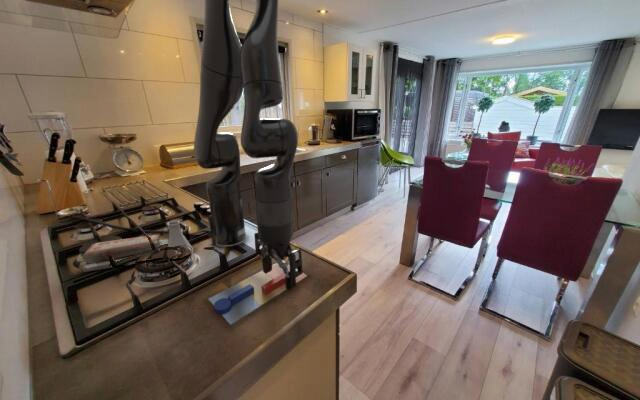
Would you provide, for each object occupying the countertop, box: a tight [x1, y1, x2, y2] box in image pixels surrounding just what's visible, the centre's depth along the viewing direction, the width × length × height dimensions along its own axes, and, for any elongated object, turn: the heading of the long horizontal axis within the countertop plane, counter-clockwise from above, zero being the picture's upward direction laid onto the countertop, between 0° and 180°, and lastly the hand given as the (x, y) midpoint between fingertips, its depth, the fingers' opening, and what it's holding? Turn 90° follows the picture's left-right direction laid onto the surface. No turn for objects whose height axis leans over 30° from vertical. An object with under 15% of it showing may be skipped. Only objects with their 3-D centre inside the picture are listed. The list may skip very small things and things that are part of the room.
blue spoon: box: [213, 284, 254, 316], centre depth 54 cm, size 9×3×2 cm, turn 137°
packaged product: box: [82, 234, 169, 273], centre depth 70 cm, size 18×5×10 cm
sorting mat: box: [208, 259, 308, 326], centre depth 60 cm, size 21×10×1 cm, turn 137°
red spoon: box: [262, 272, 286, 295], centre depth 60 cm, size 9×3×2 cm, turn 137°
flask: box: [166, 219, 194, 253], centre depth 71 cm, size 7×7×10 cm
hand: (278, 279), depth 59 cm, fingers open, 8 cm apart
